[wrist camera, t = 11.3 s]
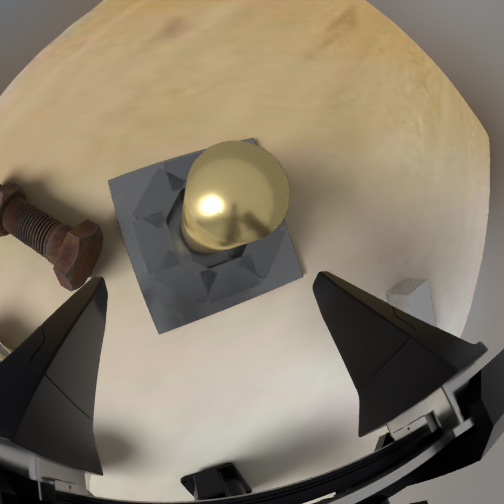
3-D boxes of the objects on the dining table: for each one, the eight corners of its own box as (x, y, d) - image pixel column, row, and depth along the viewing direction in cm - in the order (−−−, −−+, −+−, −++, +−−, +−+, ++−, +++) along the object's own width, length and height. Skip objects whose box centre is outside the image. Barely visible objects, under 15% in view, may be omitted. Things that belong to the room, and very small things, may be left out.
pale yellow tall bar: (241, 226, 24) (308, 187, 12) (209, 266, 23) (248, 265, 11) (202, 193, 23) (233, 123, 11) (169, 232, 22) (163, 194, 10)
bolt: (5, 194, 19) (104, 254, 22) (-22, 228, 16) (77, 300, 19) (-7, 154, 15) (102, 215, 18) (-40, 190, 12) (64, 269, 15)
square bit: (417, 343, 31) (438, 348, 27) (399, 359, 30) (420, 367, 26) (404, 278, 30) (427, 279, 26) (384, 293, 29) (408, 295, 25)
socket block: (300, 276, 26) (321, 277, 22) (159, 332, 22) (156, 345, 18) (251, 140, 25) (264, 121, 21) (109, 182, 21) (98, 167, 17)
